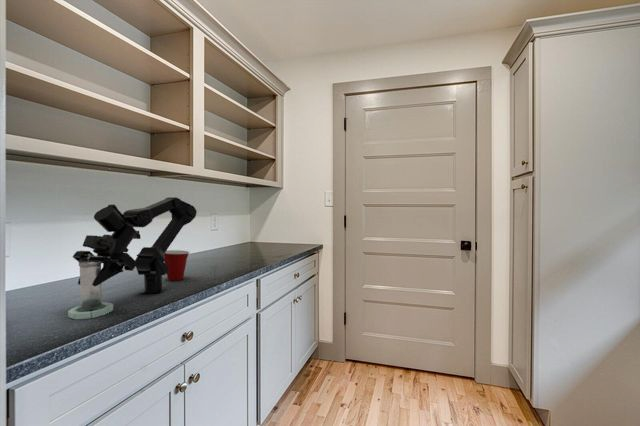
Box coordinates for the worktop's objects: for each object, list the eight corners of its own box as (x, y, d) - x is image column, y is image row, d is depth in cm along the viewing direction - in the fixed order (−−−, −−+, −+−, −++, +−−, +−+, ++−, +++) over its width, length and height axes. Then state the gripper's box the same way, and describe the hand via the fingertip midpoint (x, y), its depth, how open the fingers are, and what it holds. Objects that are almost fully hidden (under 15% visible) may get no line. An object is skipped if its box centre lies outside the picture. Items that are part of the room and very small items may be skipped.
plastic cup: (193, 279, 134) (193, 250, 134) (165, 283, 127) (164, 253, 127) (185, 275, 143) (185, 248, 142) (158, 278, 136) (158, 250, 136)
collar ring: (80, 308, 98) (80, 303, 98) (117, 306, 100) (117, 301, 100) (61, 320, 88) (61, 314, 88) (103, 317, 90) (103, 312, 90)
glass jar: (85, 304, 96) (84, 260, 95) (106, 302, 97) (104, 259, 97) (76, 310, 91) (74, 263, 90) (98, 308, 92) (96, 263, 91)
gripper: (77, 224, 99) (39, 267, 89) (127, 225, 94) (92, 271, 84) (102, 246, 107) (69, 288, 97) (148, 248, 102) (119, 292, 92)
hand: (86, 285), depth 92 cm, fingers closed on glass jar, 5 cm apart
